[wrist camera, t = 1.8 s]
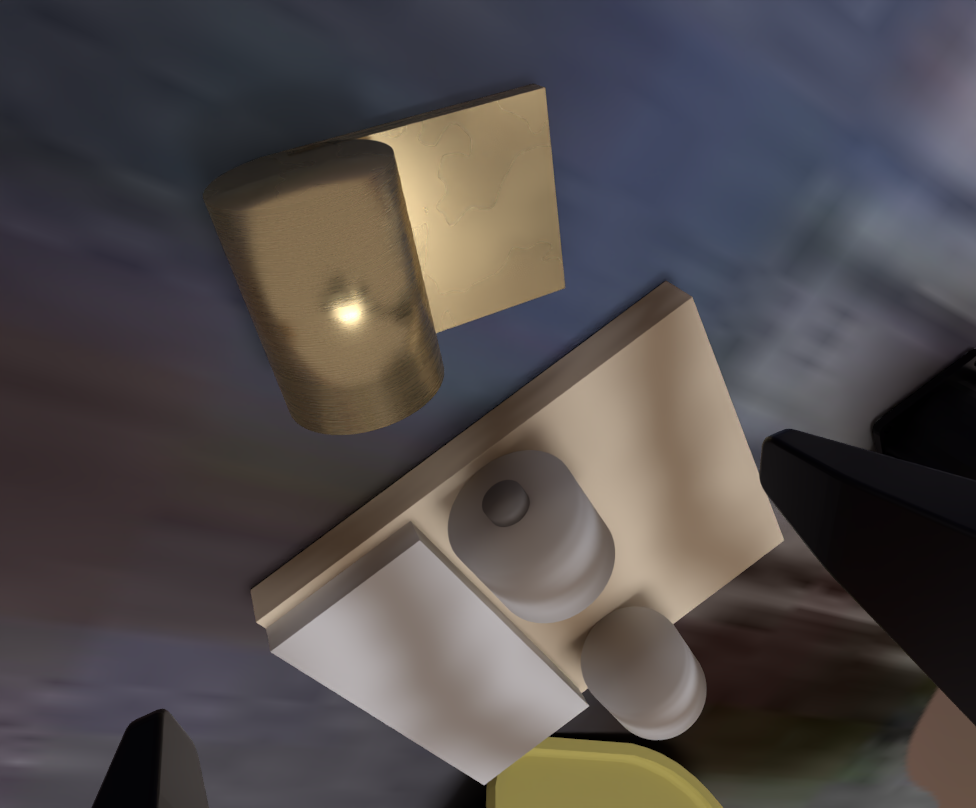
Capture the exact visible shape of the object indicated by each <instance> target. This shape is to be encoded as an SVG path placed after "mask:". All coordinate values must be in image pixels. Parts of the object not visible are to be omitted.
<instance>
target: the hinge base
mask: <svg viewBox="0 0 976 808" xmlns="http://www.w3.org/2000/svg"><path fill="white" fill-rule="evenodd" d="M783 541H784V539H783V536H782V534H781V531H780V528H779V526H778V523H777V520H776V518H775V515H774V512H773V510H772V507H771V504H770V502H769V499H768V496H767V494H766V493H765V491H764V490H763V488H762V486H761V483H760V479H759V473H758V470H757V467H756V465H755V462H754V459H753V457H752V454H751V451H750V449H749V446H748V443H747V441H746V438H745V435H744V433H743V430H742V427H741V425H740V422H739V420H738V417H737V414H736V412H735V409H734V406H733V404H732V401H731V398H730V396H729V393H728V390H727V388H726V385H725V382H724V380H723V377H722V374H721V372H720V369H719V366H718V364H717V361H716V359H715V356H714V353H713V351H712V348H711V345H710V343H709V340H708V337H707V335H706V332H705V329H704V327H703V324H702V321H701V319H700V316H699V313H698V311H697V308H696V305H695V303H694V300H693V298H692V297H691V296H690V295H688V294H687V293H685V292H683V291H682V290H680V289H679V288H677V287H675V286H674V285H672V284H671V283H669V282H667V281H665V282H664V283H662V284H661V285H660V286H658V287H657V288H656V289H654V290H653V291H652V292H650V293H649V294H648V295H646V296H645V297H644V298H642V299H641V300H640V301H638V302H637V303H635V304H634V305H633V306H631V307H630V308H629V309H627V310H626V311H625V312H623V313H622V314H621V315H619V316H618V317H617V318H615V319H614V320H613V321H611V322H610V323H609V324H607V325H606V326H605V327H603V328H602V329H601V330H599V331H598V332H597V333H595V334H594V335H592V336H591V337H590V338H588V339H587V340H586V341H584V342H583V343H582V344H580V345H579V346H578V347H576V348H575V349H574V350H572V351H571V352H570V353H568V354H567V355H566V356H564V357H563V358H562V359H560V360H559V361H558V362H556V363H555V364H554V365H552V366H551V367H550V368H548V369H547V370H545V371H544V372H543V373H541V374H540V375H539V376H537V377H536V378H535V379H533V380H532V381H531V382H529V383H528V384H527V385H525V386H524V387H523V388H521V389H520V390H519V391H517V392H516V393H515V394H513V395H512V396H511V397H509V398H508V399H507V400H505V401H504V402H502V403H501V404H500V405H498V406H497V407H496V408H494V409H493V410H492V411H490V412H489V413H488V414H486V415H485V416H484V417H482V418H481V419H480V420H478V421H477V422H476V423H474V424H473V425H472V426H470V427H469V428H468V429H466V430H465V431H464V432H462V433H461V434H460V435H458V436H457V437H455V438H454V439H453V440H451V441H450V442H449V443H447V444H446V445H445V446H443V447H442V448H441V449H439V450H438V451H437V452H435V453H434V454H433V455H431V456H430V457H429V458H427V459H426V460H425V461H423V462H422V463H421V464H419V465H418V466H417V467H415V468H414V469H412V470H411V471H410V472H408V473H407V474H406V475H404V476H403V477H402V478H400V479H399V480H398V481H396V482H395V483H394V484H392V485H391V486H390V487H388V488H387V489H386V490H384V491H383V492H382V493H380V494H379V495H378V496H376V497H375V498H374V499H372V500H371V501H370V502H368V503H367V504H365V505H364V506H363V507H361V508H360V509H359V510H357V511H356V512H355V513H353V514H352V515H351V516H349V517H348V518H347V519H345V520H344V521H343V522H341V523H340V524H339V525H337V526H336V527H335V528H333V529H332V530H331V531H329V532H328V533H327V534H325V535H324V536H322V537H321V538H320V539H318V540H317V541H316V542H314V543H313V544H312V545H310V546H309V547H308V548H306V549H305V550H304V551H302V552H301V553H300V554H298V555H297V556H296V557H294V558H293V559H292V560H290V561H289V562H288V563H286V564H285V565H284V566H282V567H281V568H280V569H278V570H277V571H275V572H274V573H273V574H271V575H270V576H269V577H267V578H266V579H265V580H263V581H262V582H261V583H259V584H258V585H257V586H255V587H254V588H253V589H251V596H252V601H253V607H254V613H255V618H256V622H257V623H258V624H260V625H261V626H263V627H264V628H266V631H267V636H268V641H269V647H270V652H272V653H273V654H275V655H276V656H278V657H280V658H281V659H283V660H284V661H286V662H288V663H289V664H291V665H292V666H294V667H296V668H297V669H299V670H300V671H302V672H304V673H305V674H307V675H308V676H310V677H312V678H313V679H315V680H316V681H318V682H320V683H321V684H323V685H324V686H326V687H328V688H329V689H331V690H332V691H334V692H336V693H337V694H339V695H340V696H342V697H344V698H345V699H347V700H348V701H350V702H352V703H353V704H355V705H356V706H358V707H360V708H361V709H363V710H364V711H366V712H368V713H369V714H371V715H372V716H374V717H376V718H377V719H379V720H380V721H382V722H384V723H385V724H387V725H388V726H390V727H392V728H393V729H395V730H396V731H398V732H400V733H401V734H403V735H404V736H406V737H408V738H409V739H411V740H412V741H414V742H416V743H417V744H419V745H420V746H422V747H424V748H425V749H427V750H428V751H430V752H432V753H433V754H435V755H436V756H438V757H439V758H441V759H443V760H444V761H446V762H447V763H449V764H451V765H452V766H454V767H455V768H457V769H459V770H460V771H462V772H463V773H465V774H467V775H468V776H470V777H471V778H473V779H475V780H476V781H478V782H479V783H481V784H483V785H485V784H486V783H488V782H489V781H490V780H492V779H493V778H494V777H496V776H497V775H498V774H500V773H501V772H502V771H504V770H505V769H506V768H508V767H509V766H510V765H512V764H513V763H514V762H516V761H517V760H518V759H520V758H521V757H522V756H524V755H525V754H526V753H528V752H529V751H530V750H532V749H533V748H534V747H536V746H537V745H538V744H540V743H541V742H542V741H543V740H545V739H546V738H547V737H549V736H550V735H551V734H553V733H554V732H555V731H557V730H558V729H559V728H561V727H562V726H563V725H565V724H566V723H567V722H569V721H570V720H571V719H573V718H574V717H575V716H577V715H578V714H579V713H581V712H582V711H583V710H585V709H586V708H587V707H589V705H588V703H587V702H586V700H585V698H584V697H583V695H582V692H584V691H585V690H586V689H589V690H590V692H591V693H592V694H593V695H594V696H595V697H596V699H597V700H598V701H599V702H600V703H601V704H602V705H603V706H604V707H605V708H606V709H607V710H608V711H609V712H610V713H611V714H612V715H613V716H614V717H615V718H616V719H617V720H618V721H619V722H620V723H621V724H622V725H623V726H624V727H625V728H626V729H627V730H629V731H630V732H632V733H633V734H635V735H637V736H639V737H642V738H645V739H650V740H664V739H669V738H672V737H675V736H677V735H679V734H681V733H683V732H684V731H686V730H687V729H688V728H689V727H690V726H692V724H693V723H694V722H695V721H696V720H697V718H698V717H699V715H700V713H701V711H702V709H703V706H704V703H705V698H706V680H705V675H704V673H703V670H702V668H701V666H700V664H699V662H698V661H697V659H696V658H695V656H694V655H693V653H692V652H691V650H690V649H689V647H688V646H687V644H686V643H685V641H684V640H683V638H682V637H681V635H680V634H679V632H678V631H677V629H676V628H675V627H674V625H673V624H674V623H675V622H676V621H678V620H679V619H680V618H682V617H683V616H684V615H686V614H687V613H688V612H690V611H691V610H692V609H694V608H695V607H696V606H698V605H699V604H700V603H702V602H703V601H704V600H706V599H707V598H708V597H710V596H711V595H712V594H714V593H715V592H716V591H718V590H719V589H720V588H722V587H723V586H724V585H726V584H727V583H728V582H729V581H731V580H732V579H733V578H735V577H736V576H737V575H739V574H740V573H741V572H743V571H744V570H745V569H747V568H748V567H749V566H751V565H752V564H753V563H755V562H756V561H757V560H759V559H760V558H761V557H763V556H764V555H765V554H767V553H768V552H769V551H771V550H772V549H773V548H775V547H776V546H777V545H779V544H780V543H781V542H783Z"/></svg>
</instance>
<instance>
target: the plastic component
mask: <svg viewBox="0 0 976 808" xmlns="http://www.w3.org/2000/svg"><path fill="white" fill-rule="evenodd" d="M486 808H723V807H722V806H721V805H720V803H719V802H718V801H717V800H716V799H715V797H714V796H713V795H712V794H711V793H710V792H709V790H708V789H707V788H706V787H705V786H704V785H703V784H702V783H701V782H700V781H699V780H698V779H697V778H696V777H695V776H693V775H692V774H691V773H690V772H688V771H687V770H686V769H685V768H683V767H682V766H681V765H680V764H678V763H677V762H675V761H673V760H672V759H670V758H668V757H666V756H665V755H663V754H661V753H659V752H656V751H654V750H651V749H649V748H646V747H642V746H639V745H636V744H632V743H620V742H607V741H594V740H581V739H568V738H555V737H547V738H546V739H545V740H543V741H542V742H541V743H540V744H538V745H537V746H536V747H534V748H533V749H532V750H530V751H529V752H528V753H526V754H525V755H524V756H522V757H521V758H520V759H518V760H517V761H516V762H514V763H513V764H512V765H510V766H509V767H508V768H506V769H505V770H504V771H502V772H501V773H500V774H498V775H497V776H496V777H494V778H493V779H492V780H490V781H489V782H488V783H487V788H486Z"/></svg>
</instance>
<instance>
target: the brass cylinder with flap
mask: <svg viewBox="0 0 976 808" xmlns="http://www.w3.org/2000/svg"><path fill="white" fill-rule="evenodd" d="M203 199H204V202H205V204H206V207H207V209H208V212H209V214H210V217H211V219H212V222H213V224H214V227H215V229H216V232H217V234H218V236H219V239H220V241H221V244H222V246H223V249H224V251H225V254H226V256H227V259H228V261H229V264H230V266H231V269H232V271H233V274H234V276H235V278H236V281H237V283H238V286H239V288H240V291H241V293H242V296H243V298H244V301H245V303H246V306H247V308H248V311H249V313H250V315H251V318H252V320H253V323H254V325H255V328H256V330H257V333H258V335H259V338H260V340H261V343H262V345H263V348H264V350H265V352H266V355H267V357H268V360H269V362H270V365H271V367H272V370H273V372H274V375H275V377H276V380H277V382H278V385H279V387H280V389H281V392H282V394H283V397H284V399H285V402H286V404H287V407H288V409H289V412H290V414H291V416H292V418H293V419H294V420H295V421H296V422H297V423H298V424H299V425H301V426H302V427H304V428H306V429H308V430H311V431H314V432H318V433H322V434H331V435H348V434H357V433H363V432H368V431H372V430H376V429H380V428H383V427H386V426H389V425H391V424H393V423H396V422H398V421H400V420H402V419H404V418H406V417H408V416H410V415H411V414H413V413H414V412H416V411H418V410H419V409H420V408H421V407H423V406H424V405H425V404H426V403H427V402H428V401H429V400H431V399H432V397H433V396H434V395H435V394H436V393H437V391H438V389H439V388H440V386H441V384H442V381H443V378H444V366H443V362H442V357H441V353H440V349H439V344H438V340H437V336H436V333H438V332H441V331H443V330H446V329H449V328H452V327H455V326H458V325H461V324H464V323H466V322H469V321H472V320H475V319H478V318H481V317H484V316H487V315H489V314H492V313H495V312H498V311H501V310H504V309H507V308H509V307H512V306H515V305H518V304H521V303H524V302H527V301H530V300H532V299H535V298H538V297H541V296H544V295H547V294H550V293H552V292H555V291H558V290H561V289H564V288H565V281H564V271H563V261H562V251H561V241H560V231H559V221H558V211H557V201H556V191H555V181H554V171H553V161H552V151H551V141H550V131H549V121H548V111H547V101H546V91H545V87H542V86H539V85H536V84H530V85H526V86H523V87H519V88H515V89H511V90H508V91H504V92H500V93H497V94H493V95H489V96H485V97H482V98H478V99H474V100H471V101H467V102H463V103H460V104H456V105H452V106H448V107H445V108H441V109H437V110H434V111H430V112H426V113H422V114H419V115H415V116H411V117H408V118H404V119H400V120H397V121H393V122H389V123H385V124H382V125H378V126H374V127H371V128H367V129H363V130H359V131H356V132H352V133H348V134H345V135H341V136H337V137H334V138H330V139H326V140H322V141H319V142H315V143H311V144H308V145H304V146H300V147H297V148H293V149H289V150H285V151H282V152H278V153H274V154H271V155H267V156H263V157H260V158H257V159H255V160H252V161H249V162H247V163H245V164H242V165H240V166H238V167H236V168H234V169H232V170H230V171H228V172H226V173H224V174H223V175H221V176H219V177H218V178H216V179H215V180H214V181H212V182H211V183H210V184H209V185H208V186H207V188H206V189H205V190H204V193H203Z"/></svg>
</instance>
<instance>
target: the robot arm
mask: <svg viewBox="0 0 976 808" xmlns="http://www.w3.org/2000/svg"><path fill="white" fill-rule="evenodd" d="M873 436H874V441H875V447H876V452H877V453H876V452H872V451H869V450H865V449H862V448H858V447H855V446H851V445H847V444H844V443H840V442H837V441H833V440H830V439H826V438H823V437H819V436H816V435H812V434H808V433H805V432H801V431H798V430H794V429H785V430H782V431H779V432H777V433H775V434H773V435H770V436H768V437H767V438H765V440H764V441H763V444H762V451H761V462H760V472H759V479H760V483H761V486H762V488H763V490H764V491H765V493H766V494H767V495H768V497H769V498H770V499H771V501H772V502H773V503H774V504H775V506H776V507H777V508H778V510H779V511H780V512H781V513H782V515H783V516H784V517H785V518H786V520H787V521H788V522H789V524H790V525H791V526H792V527H793V529H794V530H795V531H796V533H797V534H798V535H799V536H800V538H801V539H802V540H803V542H804V543H805V544H806V545H807V547H808V548H809V549H810V551H811V552H812V553H813V554H814V556H815V557H816V558H817V559H818V560H819V562H820V563H821V564H822V565H823V566H824V568H825V569H826V570H827V571H828V572H829V573H830V574H831V575H832V576H833V578H834V579H835V580H836V581H837V582H838V583H839V584H840V585H841V586H842V587H843V588H844V589H845V590H846V591H847V592H848V593H849V594H850V595H851V596H852V597H853V599H854V600H855V601H856V602H857V603H858V604H859V605H860V606H861V607H862V608H863V609H864V610H865V611H866V612H867V613H868V614H869V615H870V616H871V617H872V618H873V619H874V620H875V622H876V623H877V624H878V625H879V626H880V627H881V628H882V629H883V630H884V631H885V632H886V633H887V634H888V635H889V636H890V637H891V638H892V639H893V640H894V641H895V642H896V643H897V644H898V646H899V647H900V648H901V649H902V650H903V651H904V652H905V653H906V654H907V655H908V656H909V657H910V658H911V659H912V660H913V661H914V662H915V663H916V664H917V665H918V666H919V667H920V668H921V670H922V671H923V672H924V673H925V674H926V675H927V676H928V677H929V678H930V679H931V680H932V681H933V682H934V683H935V684H936V685H937V686H938V687H939V688H940V689H941V690H942V691H943V692H944V694H945V695H946V696H947V697H948V698H949V699H950V700H951V701H952V702H953V703H954V704H955V705H956V706H957V707H958V708H959V709H960V710H961V711H962V712H963V713H964V714H965V715H966V716H967V718H969V720H970V721H971V722H972V723H973V724H974V725H975V726H976V349H973V350H971V351H970V352H968V353H967V354H966V355H965V356H963V357H962V358H961V359H959V360H958V361H957V362H955V363H954V364H953V365H951V366H950V367H949V368H947V369H946V370H945V371H943V372H942V373H941V374H939V375H938V376H937V377H935V378H934V379H933V380H931V381H930V382H929V383H927V384H926V385H925V386H923V387H922V388H921V389H919V390H918V391H917V392H915V393H914V394H913V395H911V396H910V397H909V398H907V399H906V400H905V401H903V402H902V403H901V404H899V405H898V406H897V407H895V408H894V409H893V410H891V411H890V412H889V413H887V414H886V415H885V416H883V417H882V418H881V419H880V420H878V421H877V422H876V424H875V425H874V427H873ZM92 808H209V806H208V801H207V796H206V791H205V786H204V782H203V777H202V772H201V767H200V762H199V757H198V754H197V751H196V748H195V746H194V744H193V742H192V740H191V739H190V737H189V736H188V735H187V734H186V732H185V731H184V730H183V729H182V727H181V726H180V725H179V724H178V722H177V721H176V720H175V719H174V717H173V716H172V715H171V714H170V713H169V712H168V711H167V710H165V709H159V710H156V711H154V712H152V713H149V714H147V715H145V716H143V717H140V718H138V719H136V720H134V721H133V722H131V723H130V724H129V726H128V727H127V729H126V731H125V733H124V735H123V737H122V740H121V742H120V744H119V746H118V749H117V751H116V753H115V755H114V758H113V760H112V762H111V765H110V767H109V769H108V771H107V774H106V776H105V778H104V780H103V783H102V785H101V787H100V790H99V792H98V794H97V796H96V799H95V801H94V803H93V806H92Z"/></svg>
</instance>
